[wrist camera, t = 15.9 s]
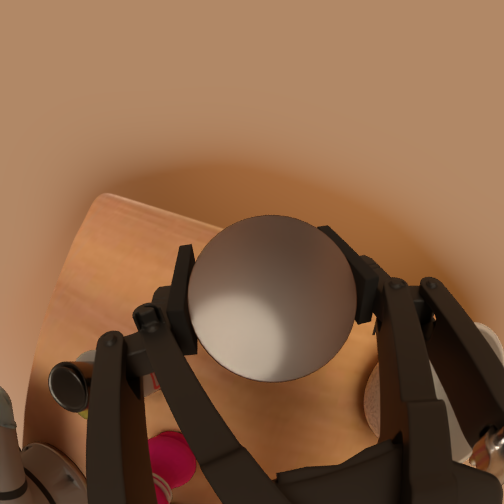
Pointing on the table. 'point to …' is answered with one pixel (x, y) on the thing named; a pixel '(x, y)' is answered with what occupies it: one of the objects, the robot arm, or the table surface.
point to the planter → (458, 441)
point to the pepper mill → (170, 463)
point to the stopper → (272, 298)
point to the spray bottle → (82, 382)
